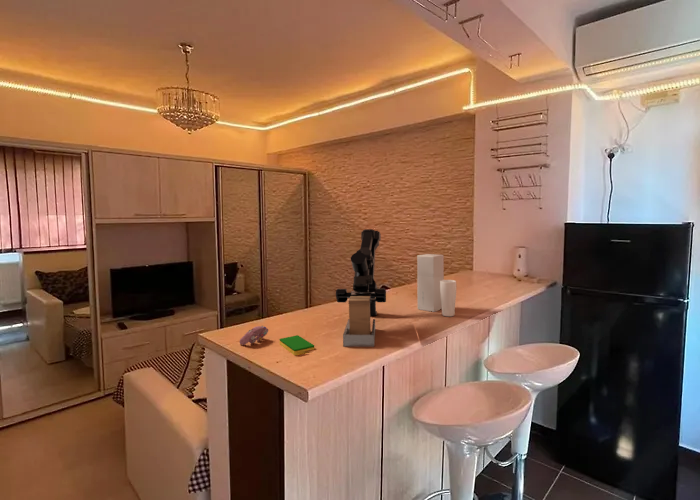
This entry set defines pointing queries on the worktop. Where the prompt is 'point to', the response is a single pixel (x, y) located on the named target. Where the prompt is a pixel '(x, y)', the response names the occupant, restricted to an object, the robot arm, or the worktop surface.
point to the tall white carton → (429, 281)
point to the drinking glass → (448, 297)
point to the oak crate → (359, 315)
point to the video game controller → (254, 335)
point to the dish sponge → (296, 345)
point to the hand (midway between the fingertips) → (360, 315)
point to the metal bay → (358, 338)
